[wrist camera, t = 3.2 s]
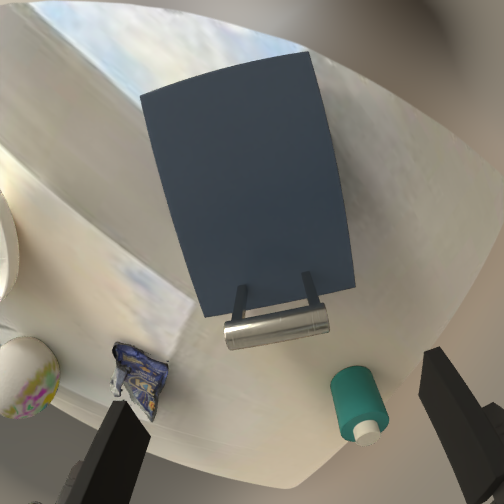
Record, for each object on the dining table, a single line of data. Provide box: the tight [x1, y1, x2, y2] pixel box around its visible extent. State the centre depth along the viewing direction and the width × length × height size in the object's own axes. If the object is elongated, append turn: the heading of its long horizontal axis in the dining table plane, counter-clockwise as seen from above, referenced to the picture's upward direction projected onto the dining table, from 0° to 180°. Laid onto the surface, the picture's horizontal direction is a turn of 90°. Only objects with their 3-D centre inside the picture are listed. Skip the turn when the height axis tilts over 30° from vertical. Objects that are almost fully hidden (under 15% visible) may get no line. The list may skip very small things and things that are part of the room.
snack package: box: [110, 342, 169, 422], centre depth 39 cm, size 12×6×12 cm
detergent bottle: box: [330, 366, 389, 446], centre depth 35 cm, size 6×6×11 cm
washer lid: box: [140, 51, 356, 350], centre depth 19 cm, size 18×13×8 cm
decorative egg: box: [0, 337, 60, 419], centre depth 35 cm, size 12×12×15 cm
